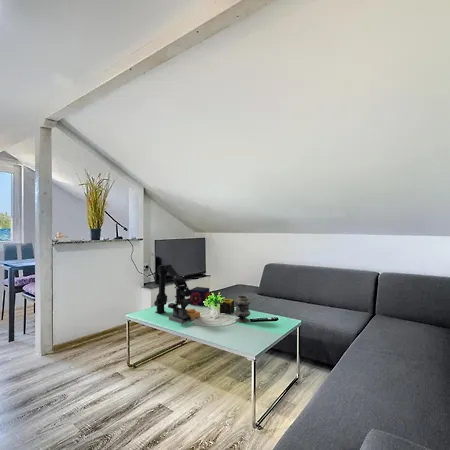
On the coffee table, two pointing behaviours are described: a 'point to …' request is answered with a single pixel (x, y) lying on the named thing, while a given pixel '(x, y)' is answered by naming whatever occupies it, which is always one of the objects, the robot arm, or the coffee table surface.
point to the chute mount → (180, 319)
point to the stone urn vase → (242, 308)
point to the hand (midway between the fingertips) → (180, 315)
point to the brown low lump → (193, 313)
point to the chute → (180, 313)
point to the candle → (227, 306)
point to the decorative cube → (199, 295)
